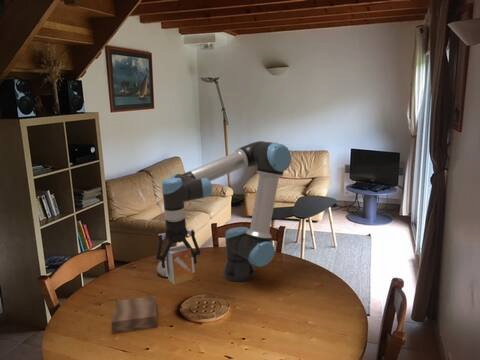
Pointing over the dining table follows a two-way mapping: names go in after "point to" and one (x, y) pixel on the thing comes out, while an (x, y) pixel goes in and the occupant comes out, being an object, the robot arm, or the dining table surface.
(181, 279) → the small box
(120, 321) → the walnut block
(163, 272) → the sea urchin shell
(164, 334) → the dining table surface
